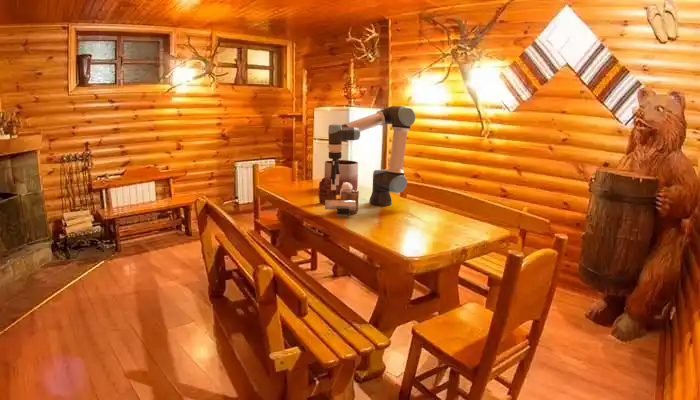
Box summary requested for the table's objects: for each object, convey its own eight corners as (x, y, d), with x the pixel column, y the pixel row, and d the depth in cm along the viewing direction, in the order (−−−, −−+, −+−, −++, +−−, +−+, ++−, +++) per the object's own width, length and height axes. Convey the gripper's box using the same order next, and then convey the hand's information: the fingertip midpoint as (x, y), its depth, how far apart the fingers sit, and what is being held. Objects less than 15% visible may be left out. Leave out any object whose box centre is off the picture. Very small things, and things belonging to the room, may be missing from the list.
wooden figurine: (321, 204, 284) (322, 177, 280) (318, 202, 289) (318, 176, 285) (338, 203, 289) (338, 176, 285) (334, 201, 294) (334, 175, 291)
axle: (356, 208, 260) (356, 199, 258) (355, 210, 254) (355, 201, 253) (326, 208, 262) (326, 199, 260) (325, 210, 256) (324, 201, 255)
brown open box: (358, 209, 273) (358, 189, 271) (356, 213, 264) (357, 192, 261) (342, 209, 274) (342, 188, 272) (340, 212, 265) (340, 192, 262)
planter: (350, 195, 315) (351, 165, 311) (318, 192, 324) (319, 162, 319) (361, 189, 339) (362, 161, 334) (332, 186, 347) (332, 159, 342)
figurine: (343, 201, 296) (343, 184, 293) (336, 198, 304) (337, 181, 302) (355, 200, 300) (356, 183, 298) (349, 197, 309) (350, 180, 306)
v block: (350, 213, 263) (350, 203, 262) (348, 217, 254) (348, 207, 252) (338, 213, 264) (338, 202, 262) (336, 217, 254) (336, 206, 253)
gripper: (331, 148, 264) (331, 183, 269) (325, 154, 240) (325, 191, 245) (343, 149, 263) (343, 183, 268) (338, 154, 239) (338, 192, 244)
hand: (335, 187), depth 257 cm, fingers open, 13 cm apart
